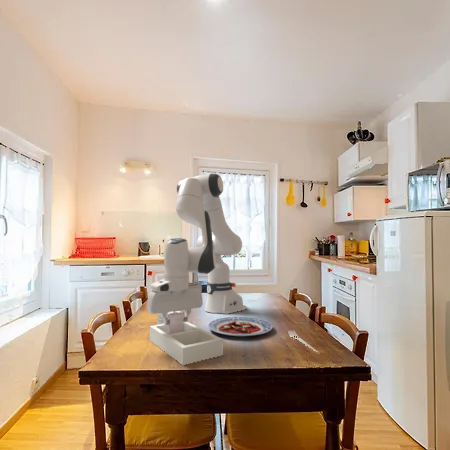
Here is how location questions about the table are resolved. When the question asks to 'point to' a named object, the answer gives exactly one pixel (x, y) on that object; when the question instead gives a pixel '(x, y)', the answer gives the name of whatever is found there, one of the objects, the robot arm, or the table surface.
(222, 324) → the ceramic plate
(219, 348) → the caddy
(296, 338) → the fork
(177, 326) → the smoothie
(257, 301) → the table surface
